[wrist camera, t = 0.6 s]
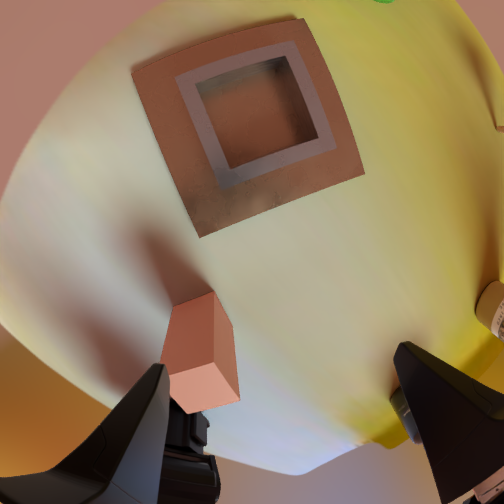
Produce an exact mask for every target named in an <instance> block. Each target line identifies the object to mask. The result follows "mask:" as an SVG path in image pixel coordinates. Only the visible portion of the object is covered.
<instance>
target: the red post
mask: <svg viewBox="0 0 504 504" xmlns="http://www.w3.org/2000/svg"><path fill="white" fill-rule="evenodd" d="M160 363H162V364H165V365H166V368H167V371H168V374H169V378H170V395H171V397H172V398H173V399H174V400H175V401H176V402H177V403H178V404H179V405H180V406H181V408H182V409H183V410H184V411H185V412H186V413H187V414H190V413H195V412H199V411H203V410H207V409H211V408H215V407H219V406H223V405H226V404H230V403H234V402H237V401H240V394H239V384H238V375H237V365H236V356H235V345H234V335H233V326H232V324H231V322H230V320H229V318H228V316H227V314H226V313H225V311H224V309H223V307H222V305H221V303H220V301H219V299H218V297H217V295H216V293H215V291H213V292H211V293H208V294H205V295H203V296H200V297H197V298H195V299H192V300H190V301H187V302H184V303H182V304H179V305H176V306H174V307H173V311H172V314H171V318H170V322H169V326H168V330H167V334H166V338H165V342H164V347H163V351H162V355H161V360H160Z"/></svg>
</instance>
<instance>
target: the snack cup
mask: <svg viewBox="0 0 504 504" xmlns="http://www.w3.org/2000/svg"><path fill="white" fill-rule="evenodd" d="M374 1H376V2H379V3H386V4H387V3H391V2H394V0H374Z"/></svg>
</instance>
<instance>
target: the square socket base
mask: <svg viewBox="0 0 504 504" xmlns="http://www.w3.org/2000/svg"><path fill="white" fill-rule="evenodd" d="M131 75H132V77H133V80H134V83H135V85H136V88H137V91H138V93H139V96H140V99H141V101H142V104H143V106H144V109H145V112H146V114H147V117H148V119H149V122H150V124H151V127H152V129H153V132H154V134H155V137H156V139H157V142H158V144H159V146H160V149H161V151H162V154H163V156H164V159H165V161H166V163H167V166H168V168H169V170H170V173H171V175H172V177H173V180H174V182H175V184H176V187H177V189H178V191H179V194H180V196H181V198H182V200H183V203H184V205H185V207H186V209H187V212H188V214H189V216H190V218H191V220H192V223H193V225H194V227H195V229H196V231H197V234H198V236H199V238H201V237H203V236H206V235H208V234H210V233H213V232H215V231H218V230H220V229H223V228H225V227H227V226H230V225H232V224H235V223H237V222H240V221H242V220H245V219H247V218H250V217H252V216H255V215H257V214H260V213H262V212H265V211H267V210H270V209H272V208H275V207H277V206H280V205H283V204H285V203H288V202H290V201H293V200H296V199H298V198H301V197H303V196H306V195H309V194H311V193H314V192H317V191H319V190H322V189H325V188H328V187H330V186H333V185H336V184H338V183H341V182H344V181H347V180H349V179H352V178H355V177H358V176H361V175H363V174H365V172H364V169H363V165H362V162H361V158H360V155H359V151H358V148H357V145H356V142H355V139H354V136H353V133H352V130H351V127H350V124H349V121H348V118H347V115H346V112H345V110H344V107H343V104H342V102H341V99H340V96H339V94H338V91H337V89H336V86H335V84H334V81H333V79H332V76H331V74H330V72H329V69H328V67H327V65H326V63H325V60H324V58H323V56H322V54H321V52H320V50H319V47H318V45H317V43H316V41H315V39H314V37H313V35H312V33H311V31H310V29H309V27H308V25H307V23H306V22H305V20H304V18H302V19H295V20H289V21H283V22H278V23H273V24H268V25H263V26H259V27H255V28H251V29H247V30H243V31H239V32H235V33H232V34H229V35H225V36H222V37H219V38H216V39H212V40H209V41H206V42H204V43H201V44H198V45H195V46H193V47H190V48H187V49H185V50H182V51H180V52H177V53H175V54H172V55H170V56H168V57H165V58H163V59H161V60H159V61H156V62H154V63H152V64H150V65H148V66H146V67H144V68H142V69H140V70H138V71H136V72H134V73H132V74H131Z"/></svg>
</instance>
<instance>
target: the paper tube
mask: <svg viewBox="0 0 504 504" xmlns="http://www.w3.org/2000/svg"><path fill="white" fill-rule="evenodd" d="M476 316H477V319H478V321H480V322H481V323H482V324H483V325H484V326H486V327H487V328H488V329H489V330H490V331H491V332H492V333H494V334H495V335H496V336H497V337H498V338H499V339H500V340H502V341H503V342H504V284H503V283H501V282H500V281H494V282H492V283H490V284H489V285H488V286H487V287H486V289H485V290H484V291H483V293H482V295H481V297H480V299H479V301H478V304H477V308H476Z"/></svg>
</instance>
